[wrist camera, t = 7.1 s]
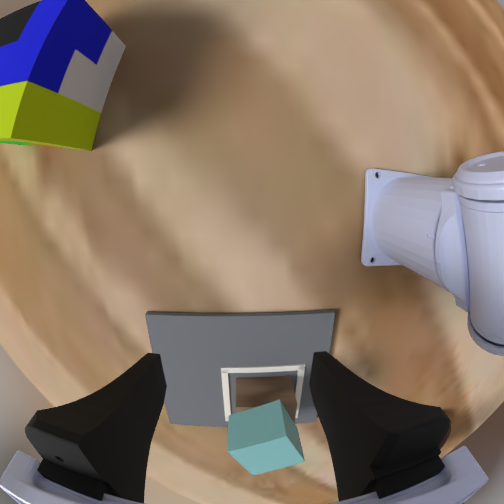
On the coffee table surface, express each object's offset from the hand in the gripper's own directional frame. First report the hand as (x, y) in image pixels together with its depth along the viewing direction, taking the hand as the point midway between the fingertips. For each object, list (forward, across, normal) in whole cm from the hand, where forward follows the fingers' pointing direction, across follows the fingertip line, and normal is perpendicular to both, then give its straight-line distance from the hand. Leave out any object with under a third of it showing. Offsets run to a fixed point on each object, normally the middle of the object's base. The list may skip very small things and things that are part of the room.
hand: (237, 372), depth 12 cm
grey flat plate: (+10, 0, +9) cm, 14 cm away
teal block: (+6, -2, +11) cm, 12 cm away
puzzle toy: (+11, +16, -18) cm, 26 cm away
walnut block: (+10, -2, +11) cm, 15 cm away
